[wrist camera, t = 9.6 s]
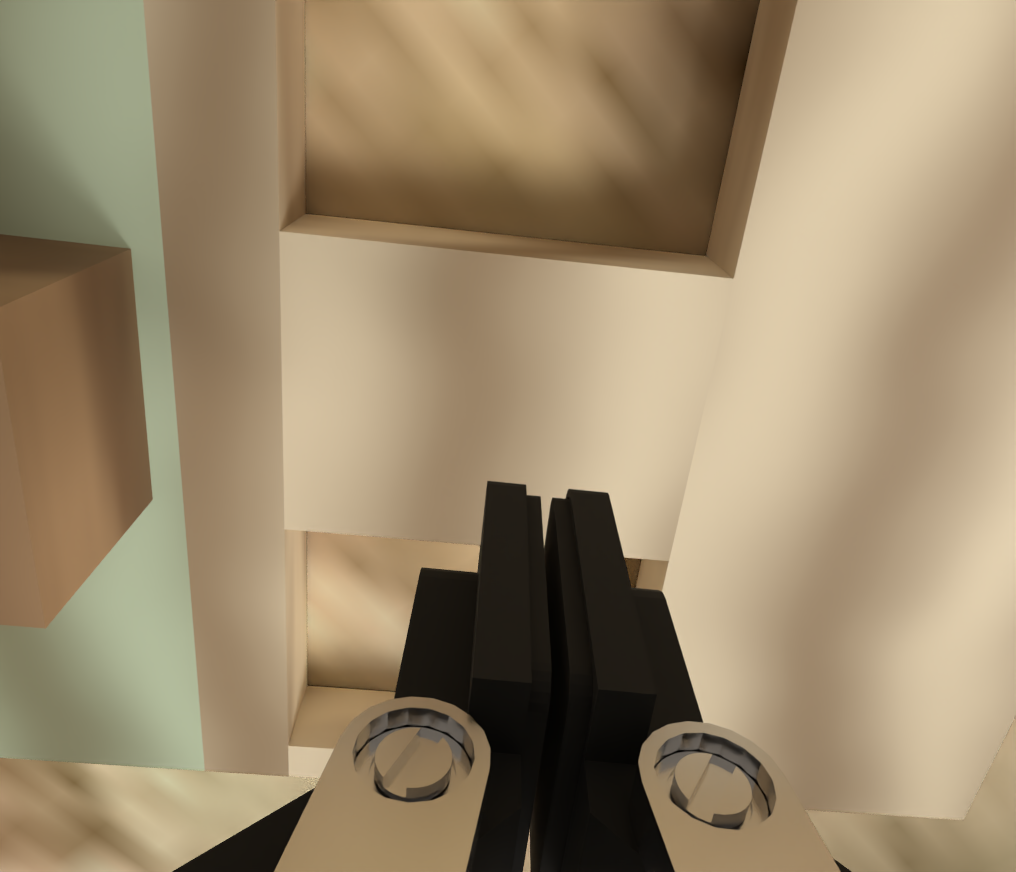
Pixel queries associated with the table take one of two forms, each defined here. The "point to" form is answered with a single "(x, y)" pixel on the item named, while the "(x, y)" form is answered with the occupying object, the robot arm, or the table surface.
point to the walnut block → (66, 419)
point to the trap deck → (550, 393)
